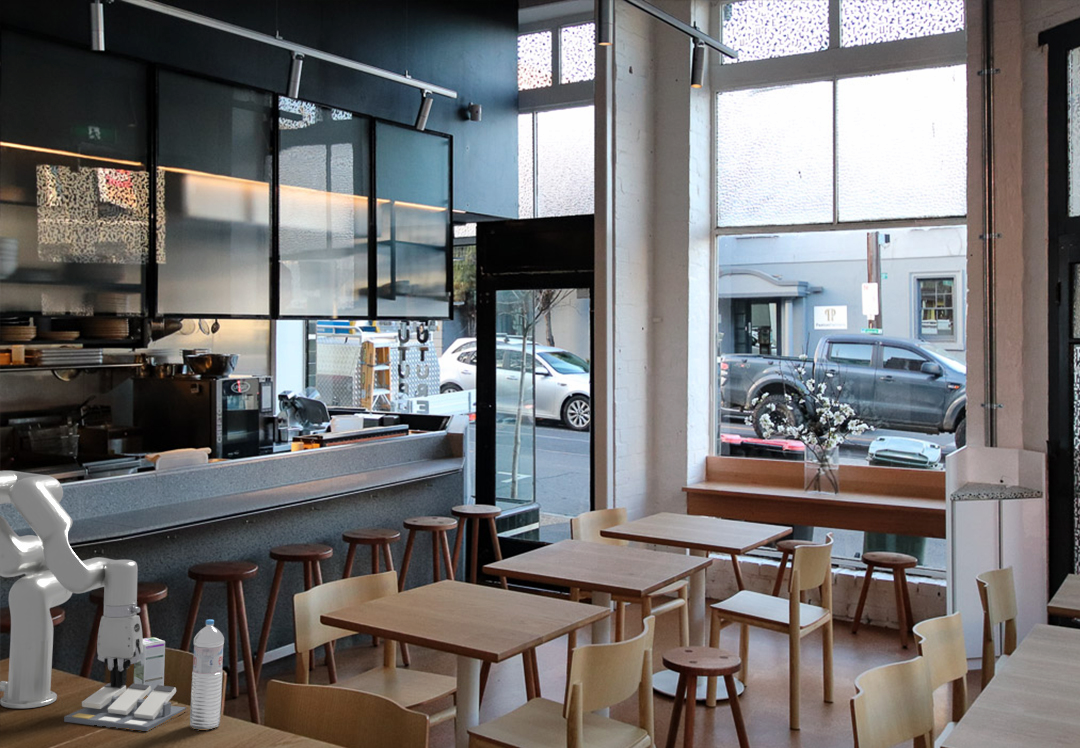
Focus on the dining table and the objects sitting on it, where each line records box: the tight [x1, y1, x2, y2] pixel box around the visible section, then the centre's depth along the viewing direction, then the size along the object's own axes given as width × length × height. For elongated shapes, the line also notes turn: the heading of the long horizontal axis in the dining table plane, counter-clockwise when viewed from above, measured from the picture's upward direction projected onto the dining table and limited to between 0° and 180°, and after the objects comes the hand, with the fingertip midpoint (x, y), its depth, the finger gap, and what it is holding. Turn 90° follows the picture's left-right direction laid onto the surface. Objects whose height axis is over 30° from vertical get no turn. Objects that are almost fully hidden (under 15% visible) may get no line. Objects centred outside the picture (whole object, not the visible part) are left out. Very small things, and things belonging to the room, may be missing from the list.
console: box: [63, 693, 187, 732], centre depth 248 cm, size 22×16×4 cm
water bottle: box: [189, 618, 225, 730], centre depth 243 cm, size 7×7×25 cm
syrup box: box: [132, 636, 166, 696], centre depth 265 cm, size 6×6×14 cm
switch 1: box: [81, 682, 127, 709], centre depth 250 cm, size 5×10×1 cm, turn 167°
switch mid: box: [108, 683, 151, 715], centre depth 249 cm, size 5×10×2 cm, turn 167°
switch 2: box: [134, 685, 177, 720], centre depth 247 cm, size 5×10×1 cm, turn 167°
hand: (118, 685), depth 254 cm, fingers closed
